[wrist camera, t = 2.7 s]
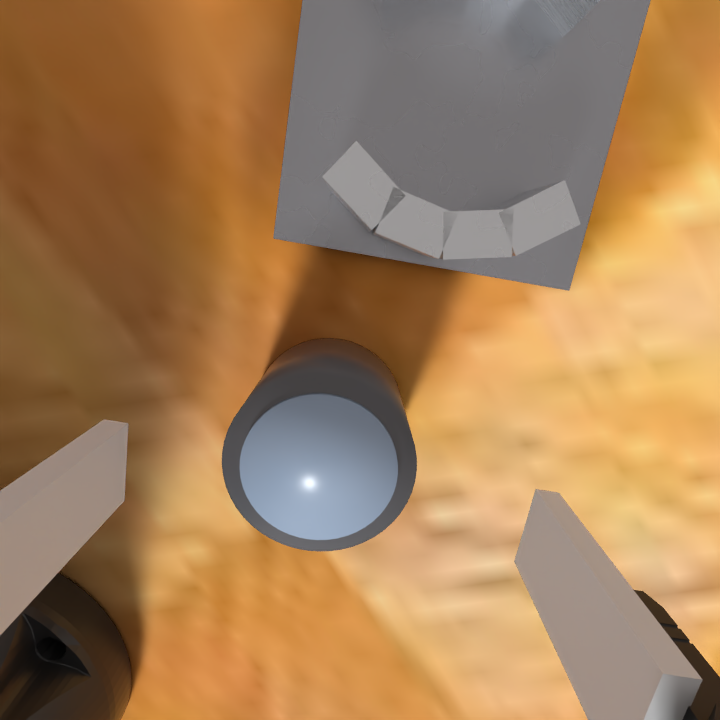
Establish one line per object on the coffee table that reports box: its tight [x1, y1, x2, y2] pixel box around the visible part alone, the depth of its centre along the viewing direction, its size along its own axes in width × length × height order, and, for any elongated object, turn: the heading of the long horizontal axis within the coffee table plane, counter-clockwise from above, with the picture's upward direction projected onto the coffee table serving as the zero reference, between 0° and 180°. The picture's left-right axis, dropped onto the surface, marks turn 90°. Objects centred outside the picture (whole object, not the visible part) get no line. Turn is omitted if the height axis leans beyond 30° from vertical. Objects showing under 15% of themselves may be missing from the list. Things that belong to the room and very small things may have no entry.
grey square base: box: [274, 0, 650, 290], centre depth 17 cm, size 13×13×5 cm
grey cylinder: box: [222, 338, 417, 551], centre depth 20 cm, size 7×7×6 cm
